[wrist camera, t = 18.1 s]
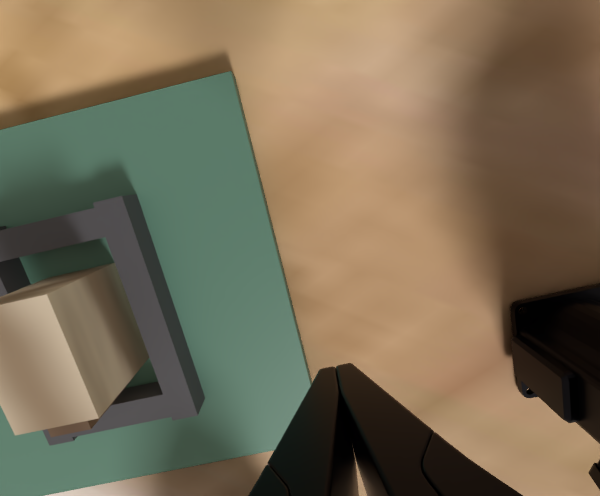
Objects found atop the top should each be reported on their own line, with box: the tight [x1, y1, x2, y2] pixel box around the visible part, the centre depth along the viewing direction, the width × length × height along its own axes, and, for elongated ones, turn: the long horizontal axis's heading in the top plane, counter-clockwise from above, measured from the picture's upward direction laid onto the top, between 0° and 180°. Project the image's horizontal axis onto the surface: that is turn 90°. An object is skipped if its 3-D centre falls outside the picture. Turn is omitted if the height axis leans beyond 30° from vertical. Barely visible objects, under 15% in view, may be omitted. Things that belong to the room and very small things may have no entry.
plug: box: [0, 263, 149, 437], centre depth 16 cm, size 4×7×5 cm, turn 13°
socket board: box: [0, 71, 312, 496], centre depth 19 cm, size 22×22×2 cm
